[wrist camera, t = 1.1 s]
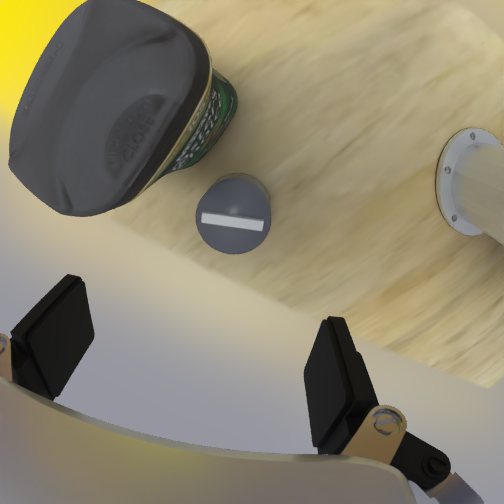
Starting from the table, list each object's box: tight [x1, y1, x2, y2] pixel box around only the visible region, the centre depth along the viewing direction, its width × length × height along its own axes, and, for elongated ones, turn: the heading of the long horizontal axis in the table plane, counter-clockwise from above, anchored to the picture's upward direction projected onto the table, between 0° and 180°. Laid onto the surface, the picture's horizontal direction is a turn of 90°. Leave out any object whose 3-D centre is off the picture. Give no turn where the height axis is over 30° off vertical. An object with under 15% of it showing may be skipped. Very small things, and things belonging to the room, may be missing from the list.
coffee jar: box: [8, 0, 237, 217], centre depth 15 cm, size 10×8×19 cm
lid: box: [196, 173, 271, 254], centre depth 25 cm, size 6×6×6 cm
